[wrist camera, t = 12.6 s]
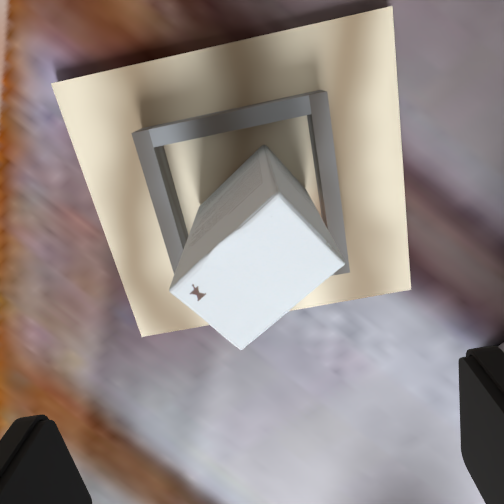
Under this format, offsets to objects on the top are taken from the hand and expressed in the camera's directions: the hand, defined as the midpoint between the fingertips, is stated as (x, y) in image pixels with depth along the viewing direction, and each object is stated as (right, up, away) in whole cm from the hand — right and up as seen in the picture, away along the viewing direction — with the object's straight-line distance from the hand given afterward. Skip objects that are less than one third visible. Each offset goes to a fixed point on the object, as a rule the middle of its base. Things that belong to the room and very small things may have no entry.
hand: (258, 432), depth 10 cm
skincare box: (0, +8, +18) cm, 20 cm away
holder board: (0, +8, +19) cm, 20 cm away
